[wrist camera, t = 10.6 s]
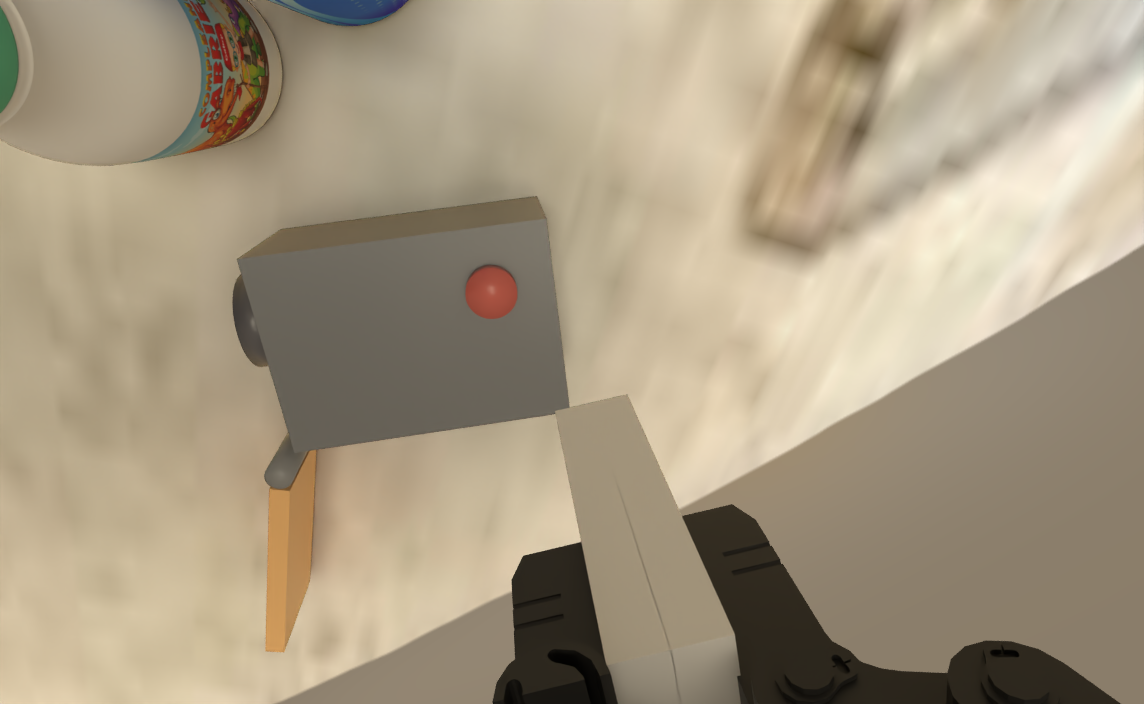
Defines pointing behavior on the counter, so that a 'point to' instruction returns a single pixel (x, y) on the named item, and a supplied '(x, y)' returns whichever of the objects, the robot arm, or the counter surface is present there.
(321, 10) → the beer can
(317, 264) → the camera body
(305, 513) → the side door
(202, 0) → the milk bottle
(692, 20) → the counter surface
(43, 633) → the counter surface
